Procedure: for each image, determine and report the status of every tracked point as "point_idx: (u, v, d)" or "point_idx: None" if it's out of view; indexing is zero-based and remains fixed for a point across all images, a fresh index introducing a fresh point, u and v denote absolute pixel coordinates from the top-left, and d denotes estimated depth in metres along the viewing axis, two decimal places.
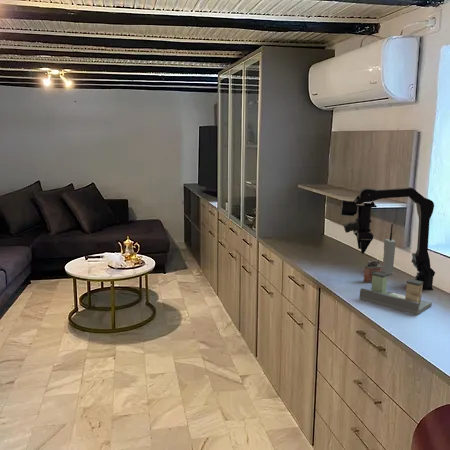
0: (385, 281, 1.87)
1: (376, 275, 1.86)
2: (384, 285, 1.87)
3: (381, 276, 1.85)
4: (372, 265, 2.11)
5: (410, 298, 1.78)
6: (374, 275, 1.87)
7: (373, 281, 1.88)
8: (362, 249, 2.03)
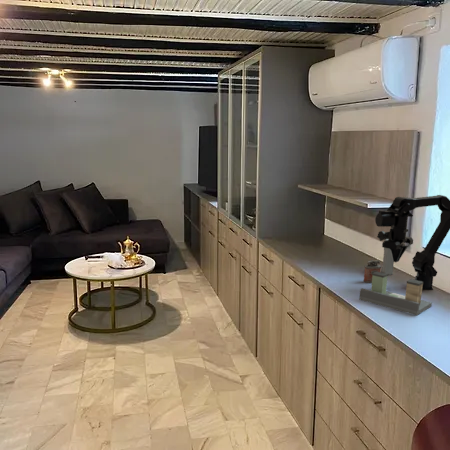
0: (385, 281, 1.87)
1: (376, 275, 1.86)
2: (384, 285, 1.87)
3: (381, 276, 1.85)
4: (372, 265, 2.11)
5: (410, 298, 1.78)
6: (374, 275, 1.87)
7: (373, 281, 1.88)
8: (394, 258, 2.01)
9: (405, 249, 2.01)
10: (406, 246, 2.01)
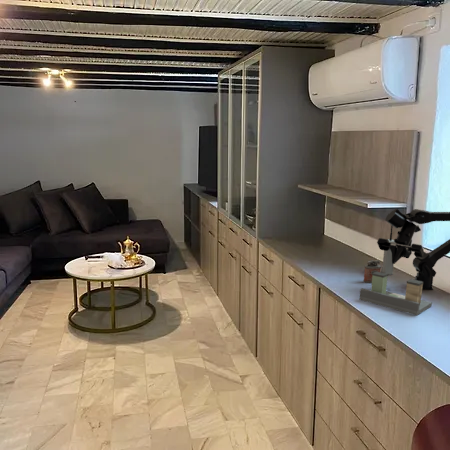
0: (385, 281, 1.87)
1: (376, 275, 1.86)
2: (384, 285, 1.87)
3: (381, 276, 1.85)
4: (372, 265, 2.11)
5: (410, 298, 1.78)
6: (374, 275, 1.87)
7: (373, 281, 1.88)
8: None
9: (400, 249, 1.95)
10: (402, 247, 1.95)
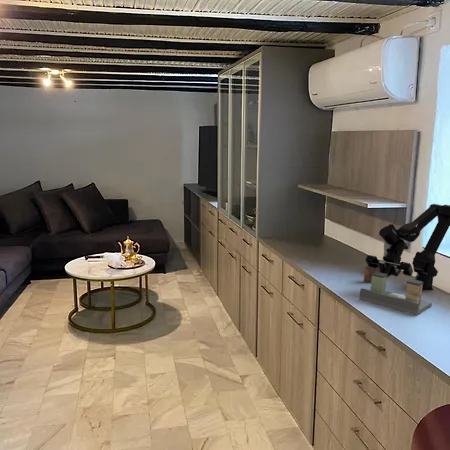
0: (384, 281, 1.86)
1: (375, 275, 1.86)
2: (383, 285, 1.86)
3: (380, 276, 1.85)
4: None
5: (410, 298, 1.78)
6: (373, 275, 1.87)
7: (372, 281, 1.87)
8: None
9: (388, 267, 1.89)
10: (390, 265, 1.89)
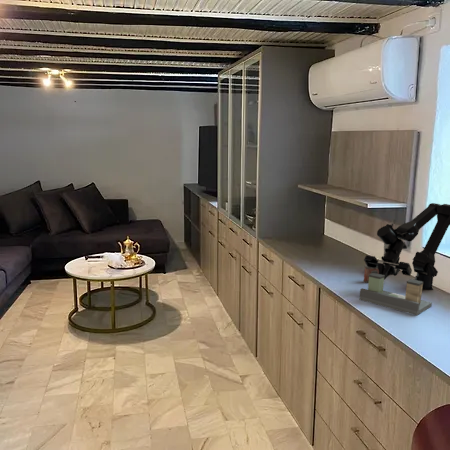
0: (382, 282, 1.85)
1: (373, 276, 1.84)
2: (381, 287, 1.85)
3: (378, 277, 1.83)
4: None
5: (410, 298, 1.78)
6: (371, 276, 1.85)
7: (370, 282, 1.85)
8: None
9: (387, 267, 1.89)
10: (389, 265, 1.89)
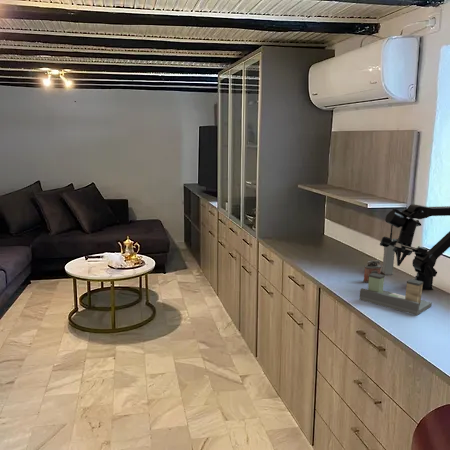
0: (382, 282, 1.85)
1: (373, 276, 1.84)
2: (381, 287, 1.85)
3: (378, 277, 1.83)
4: (372, 265, 2.11)
5: (410, 298, 1.78)
6: (371, 276, 1.85)
7: (370, 282, 1.85)
8: (397, 261, 1.97)
9: (406, 252, 1.94)
10: (408, 250, 1.95)
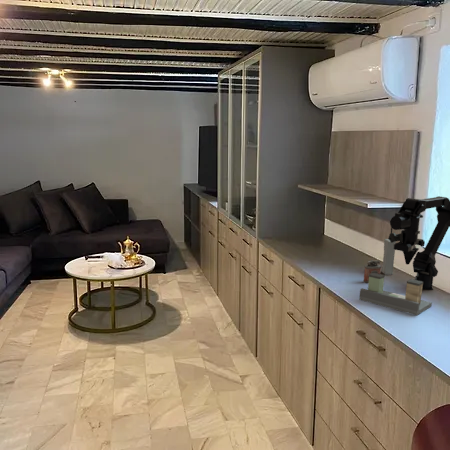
0: (382, 282, 1.85)
1: (373, 276, 1.84)
2: (381, 287, 1.85)
3: (378, 277, 1.83)
4: (372, 265, 2.11)
5: (410, 298, 1.78)
6: (371, 276, 1.85)
7: (370, 282, 1.85)
8: (406, 260, 1.98)
9: (416, 251, 1.97)
10: (417, 248, 1.97)
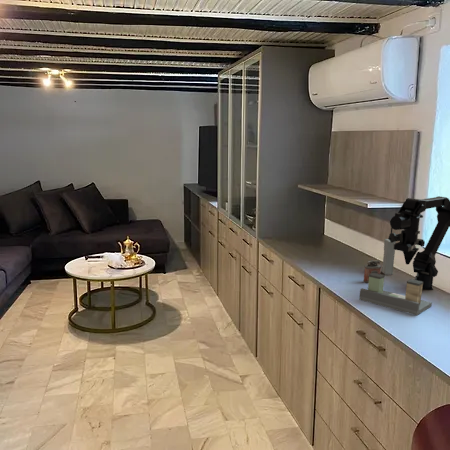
0: (382, 282, 1.85)
1: (373, 276, 1.84)
2: (381, 287, 1.85)
3: (378, 277, 1.83)
4: (372, 265, 2.11)
5: (410, 298, 1.78)
6: (371, 276, 1.85)
7: (370, 282, 1.85)
8: (406, 260, 1.98)
9: (416, 251, 1.97)
10: (417, 248, 1.97)
